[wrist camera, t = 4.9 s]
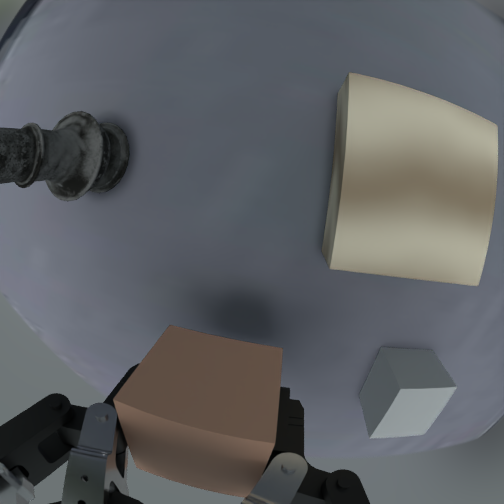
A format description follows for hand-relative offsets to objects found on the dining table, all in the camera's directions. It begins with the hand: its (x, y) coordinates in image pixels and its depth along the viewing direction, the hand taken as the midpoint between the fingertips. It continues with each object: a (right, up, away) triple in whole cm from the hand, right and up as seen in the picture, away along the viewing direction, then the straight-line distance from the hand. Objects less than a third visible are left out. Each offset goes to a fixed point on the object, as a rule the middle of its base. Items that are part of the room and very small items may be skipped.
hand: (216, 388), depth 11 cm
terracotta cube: (0, 0, +1) cm, 1 cm away
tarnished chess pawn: (-9, +13, +6) cm, 17 cm away
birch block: (+11, +11, +4) cm, 16 cm away
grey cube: (+13, -4, +7) cm, 15 cm away
